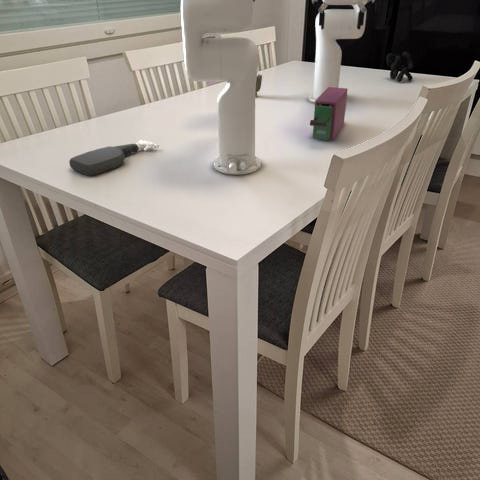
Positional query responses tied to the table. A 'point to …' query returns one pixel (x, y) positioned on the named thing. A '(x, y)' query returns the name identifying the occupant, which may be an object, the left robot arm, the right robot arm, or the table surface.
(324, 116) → the drawer
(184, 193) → the table surface
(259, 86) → the cup
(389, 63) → the squiggle
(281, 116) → the table surface
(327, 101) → the tall purple box
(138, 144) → the spray bottle
